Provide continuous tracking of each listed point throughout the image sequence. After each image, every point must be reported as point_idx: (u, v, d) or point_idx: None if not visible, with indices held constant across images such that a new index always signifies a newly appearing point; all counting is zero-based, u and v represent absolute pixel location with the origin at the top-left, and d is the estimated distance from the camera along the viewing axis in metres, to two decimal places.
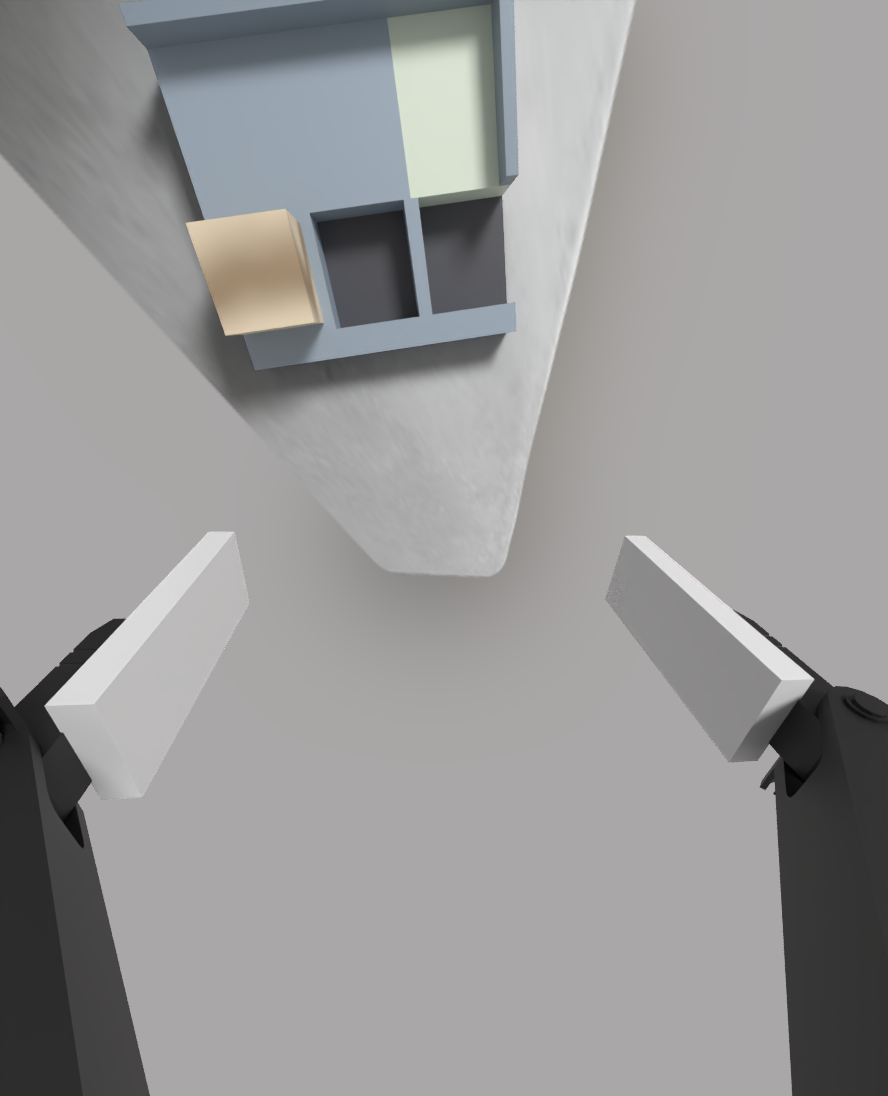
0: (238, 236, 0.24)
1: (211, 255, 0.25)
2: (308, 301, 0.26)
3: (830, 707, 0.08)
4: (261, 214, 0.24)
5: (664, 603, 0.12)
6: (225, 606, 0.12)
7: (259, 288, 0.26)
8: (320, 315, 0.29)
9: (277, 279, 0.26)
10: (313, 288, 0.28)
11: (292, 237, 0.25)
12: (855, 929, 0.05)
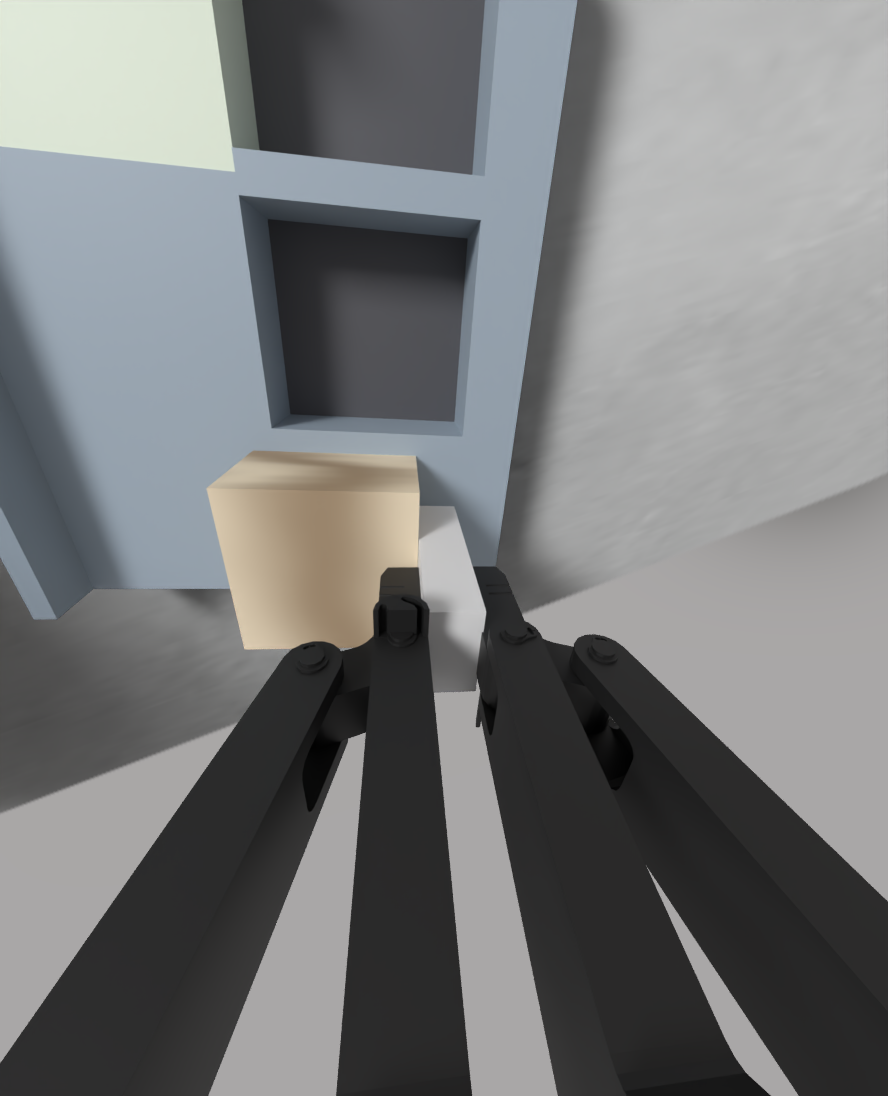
0: (261, 582, 0.13)
1: (291, 629, 0.14)
2: (378, 492, 0.12)
3: (492, 646, 0.09)
4: (221, 535, 0.12)
5: None
6: None
7: (346, 574, 0.13)
8: (403, 461, 0.15)
9: (332, 539, 0.12)
10: (356, 461, 0.14)
11: (258, 489, 0.11)
12: (543, 865, 0.06)
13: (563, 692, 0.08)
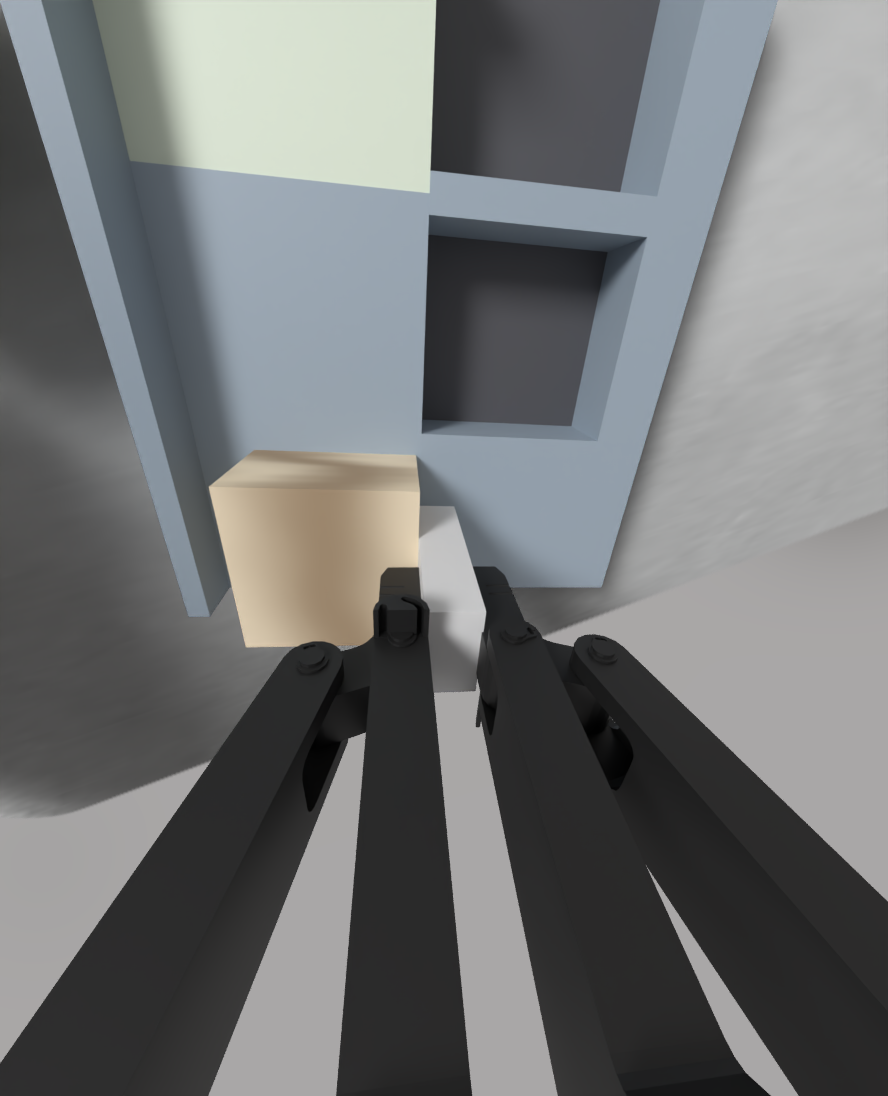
0: (262, 580, 0.13)
1: (293, 627, 0.14)
2: (379, 491, 0.12)
3: (492, 646, 0.09)
4: (223, 533, 0.12)
5: None
6: None
7: (347, 572, 0.13)
8: (403, 460, 0.15)
9: (333, 538, 0.12)
10: (356, 460, 0.14)
11: (260, 487, 0.12)
12: (543, 865, 0.06)
13: (563, 692, 0.08)
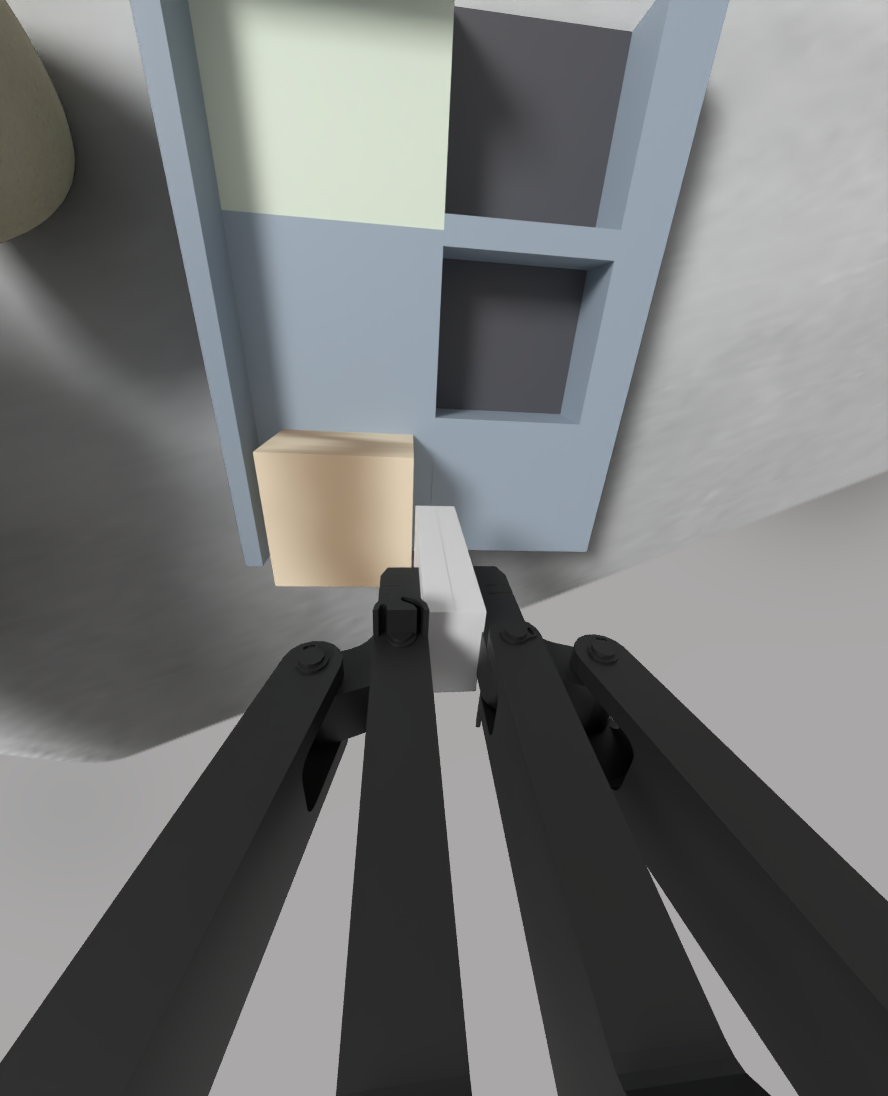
0: (290, 529, 0.16)
1: (313, 569, 0.17)
2: (382, 457, 0.15)
3: (492, 646, 0.09)
4: (262, 489, 0.16)
5: None
6: None
7: (356, 523, 0.17)
8: (402, 438, 0.18)
9: (346, 495, 0.16)
10: (365, 437, 0.18)
11: (291, 453, 0.15)
12: (543, 865, 0.06)
13: (563, 692, 0.08)
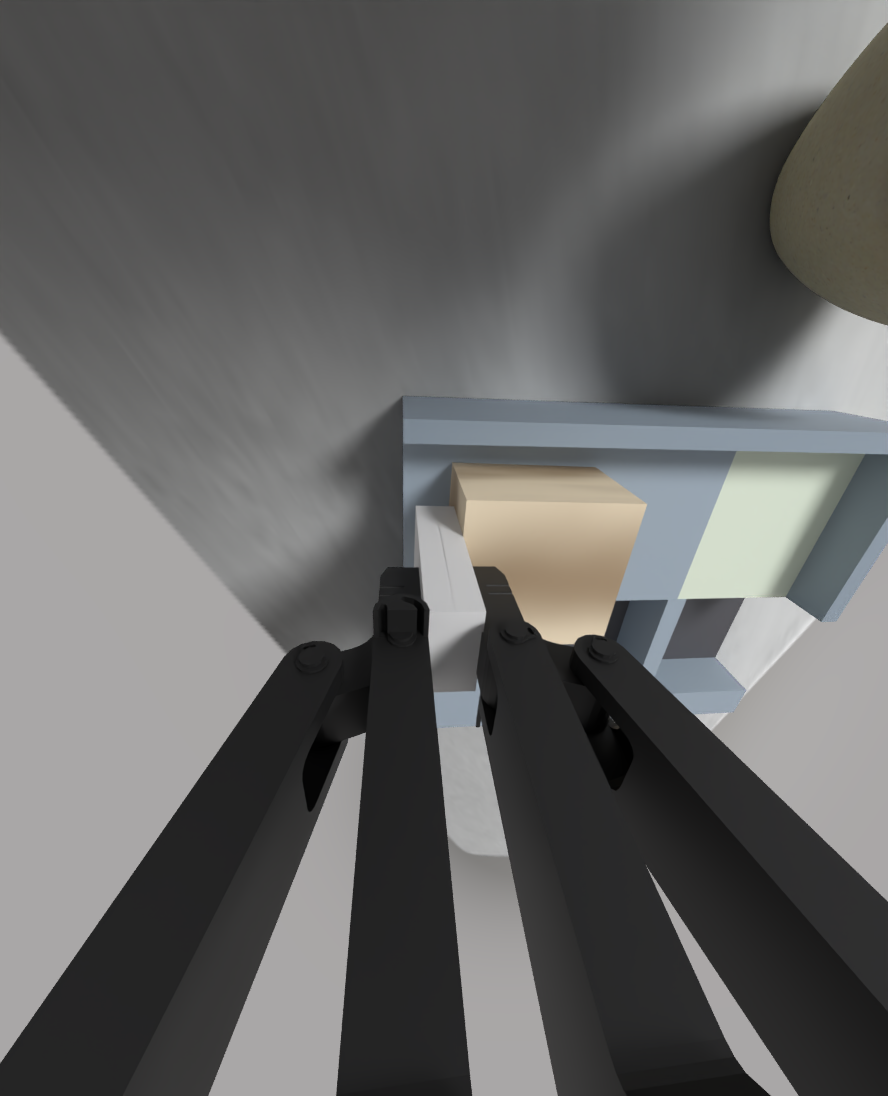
0: (548, 530, 0.13)
1: (487, 548, 0.13)
2: (607, 618, 0.15)
3: (492, 646, 0.09)
4: (603, 506, 0.13)
5: None
6: None
7: (542, 596, 0.14)
8: None
9: (577, 588, 0.14)
10: None
11: (633, 540, 0.14)
12: (544, 865, 0.06)
13: (563, 692, 0.08)
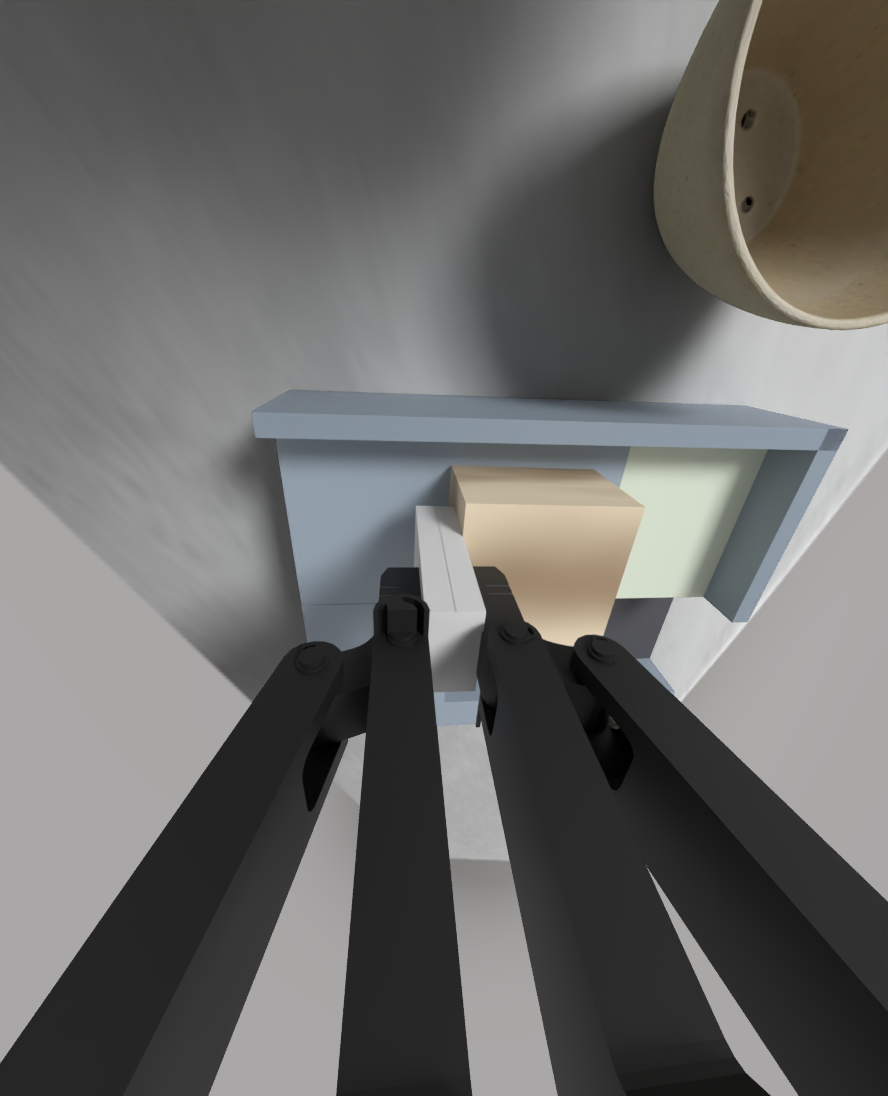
0: (547, 532, 0.13)
1: (486, 551, 0.13)
2: (606, 620, 0.15)
3: (492, 646, 0.09)
4: (602, 509, 0.13)
5: None
6: None
7: (541, 599, 0.15)
8: None
9: (576, 590, 0.15)
10: None
11: (631, 542, 0.14)
12: (544, 865, 0.06)
13: (563, 692, 0.08)
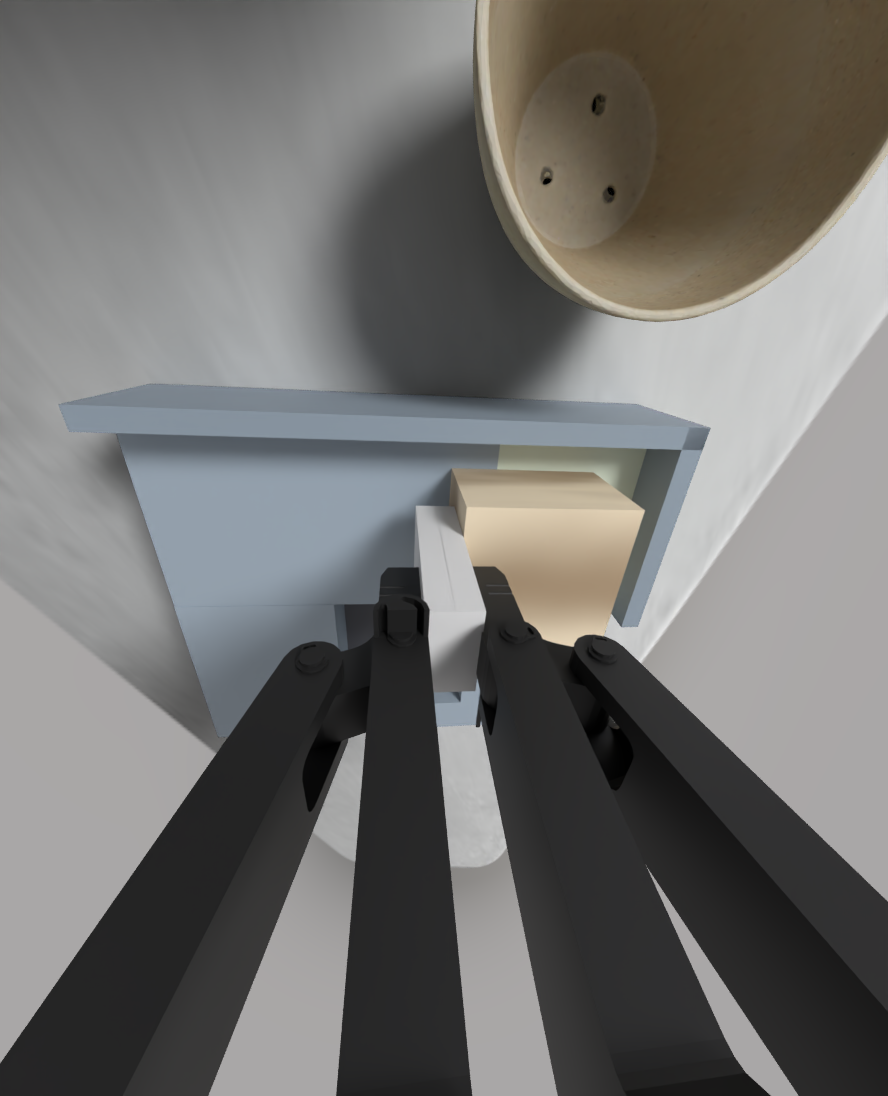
0: (547, 536, 0.13)
1: (487, 554, 0.13)
2: (606, 622, 0.16)
3: (492, 646, 0.09)
4: (602, 512, 0.13)
5: None
6: None
7: (541, 601, 0.15)
8: None
9: (576, 593, 0.15)
10: None
11: (630, 545, 0.14)
12: (543, 865, 0.06)
13: (563, 692, 0.08)
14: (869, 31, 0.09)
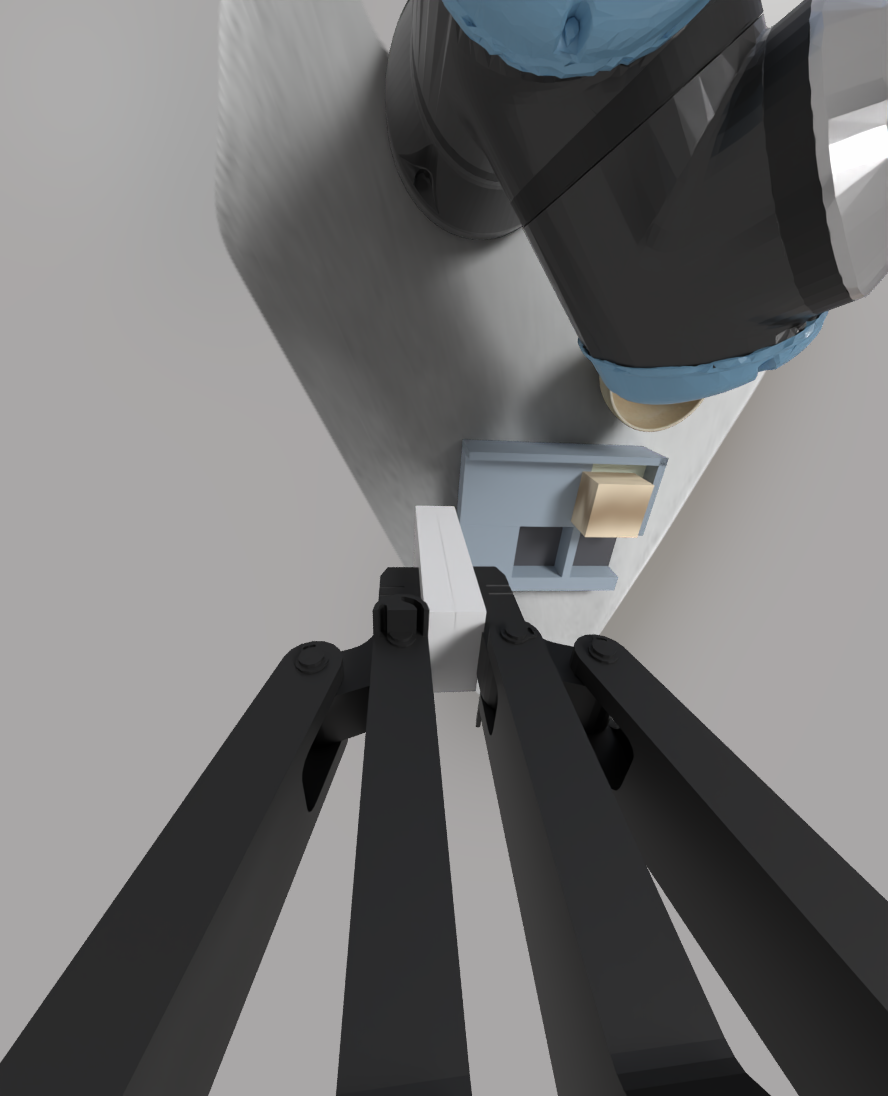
0: (622, 493, 0.41)
1: (602, 499, 0.41)
2: (639, 527, 0.43)
3: (492, 646, 0.09)
4: (640, 486, 0.41)
5: None
6: None
7: (618, 517, 0.42)
8: None
9: (630, 515, 0.42)
10: None
11: (649, 497, 0.41)
12: (543, 865, 0.06)
13: (563, 692, 0.08)
14: None
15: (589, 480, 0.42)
